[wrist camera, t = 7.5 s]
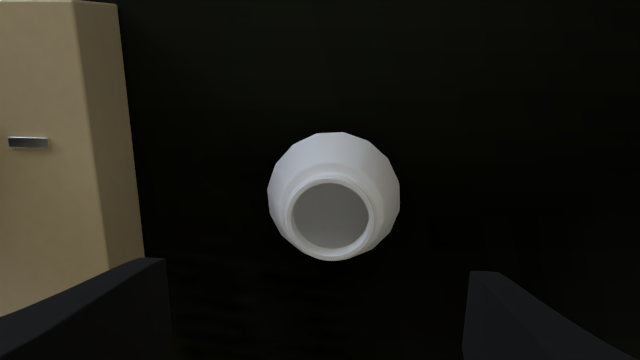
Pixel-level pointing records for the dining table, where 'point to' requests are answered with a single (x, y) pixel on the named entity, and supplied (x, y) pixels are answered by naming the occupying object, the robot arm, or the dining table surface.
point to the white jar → (333, 196)
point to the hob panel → (63, 149)
